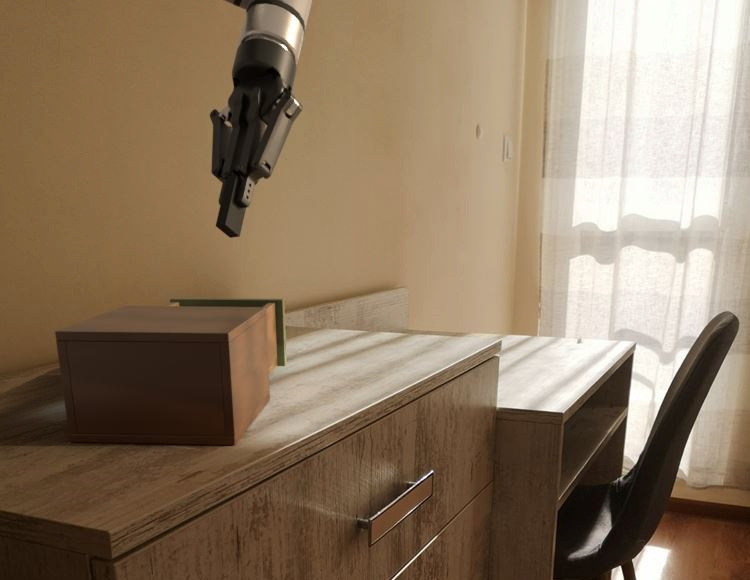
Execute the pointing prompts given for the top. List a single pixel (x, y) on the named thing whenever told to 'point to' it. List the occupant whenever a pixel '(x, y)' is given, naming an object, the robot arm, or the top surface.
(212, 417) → the cabinet
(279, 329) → the drawer
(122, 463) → the top surface
